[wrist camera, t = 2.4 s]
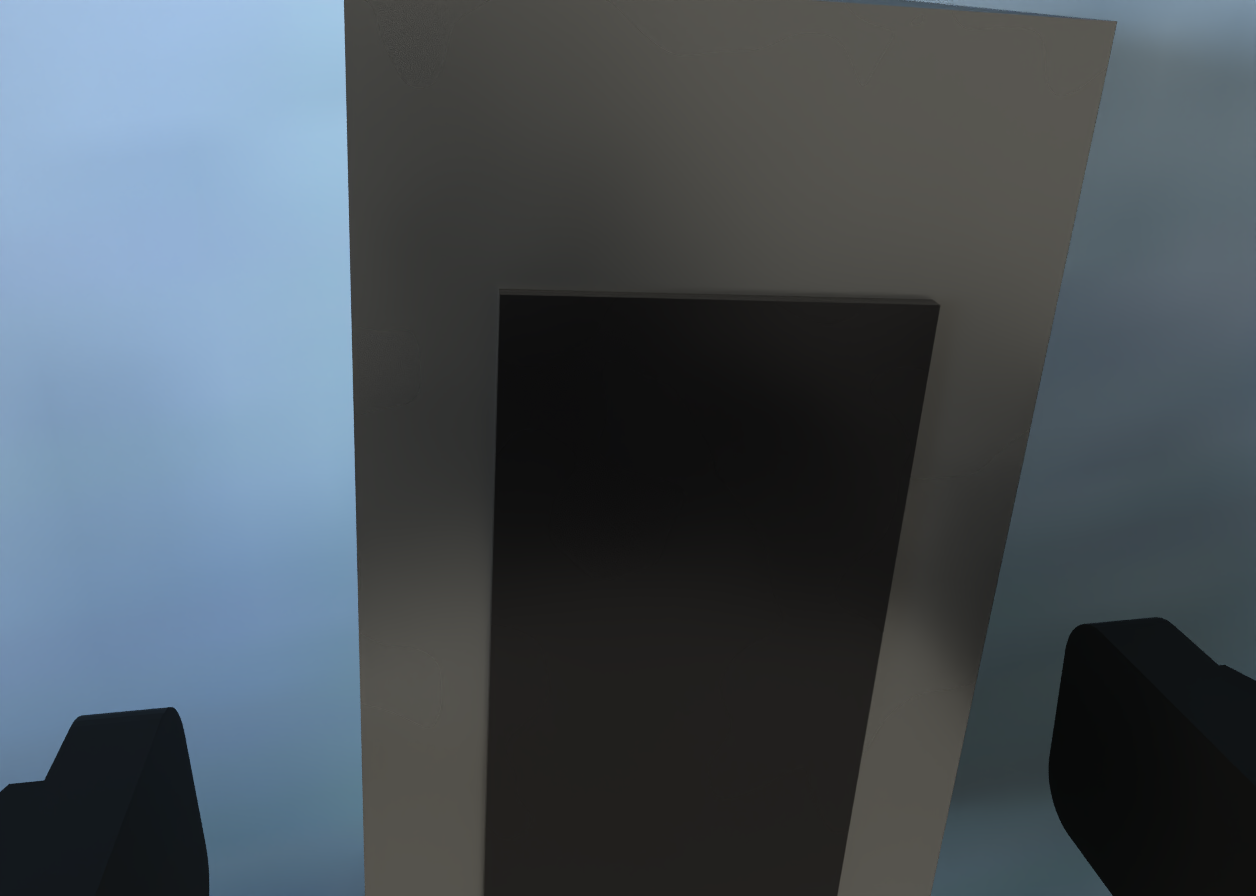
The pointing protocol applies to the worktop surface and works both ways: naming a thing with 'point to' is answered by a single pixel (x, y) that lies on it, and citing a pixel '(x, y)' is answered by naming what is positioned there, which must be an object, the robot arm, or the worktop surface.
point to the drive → (691, 426)
